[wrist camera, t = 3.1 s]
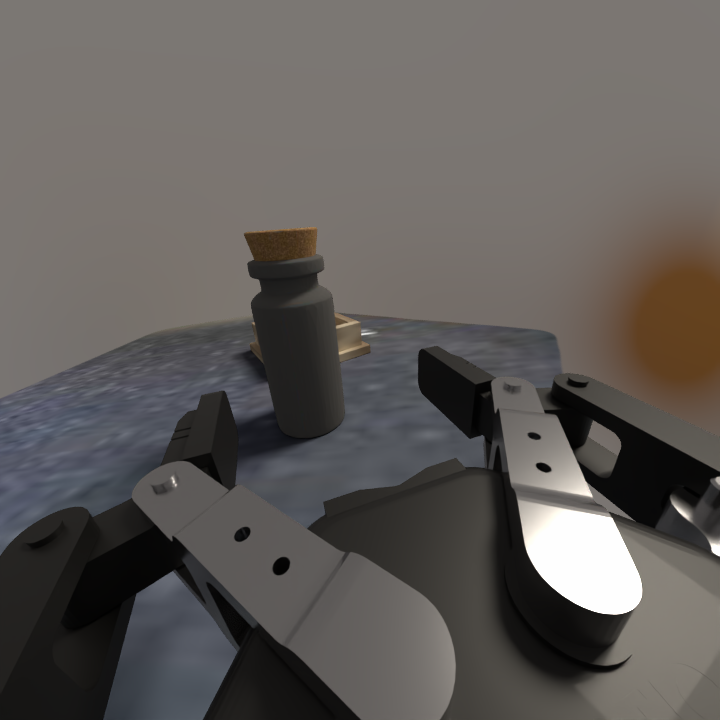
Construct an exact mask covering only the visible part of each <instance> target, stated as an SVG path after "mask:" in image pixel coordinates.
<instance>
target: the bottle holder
mask: <svg viewBox="0 0 720 720" xmlns="http://www.w3.org/2000/svg"><path fill="white" fill-rule="evenodd" d="M334 313H335V312H334ZM335 322H336V331H337V340H338V350H339V359H340V362H343V361H346V360H349V359H352V358H355V357H358V356H361V355H364V354H367V353H370V345H369V344H367V343H365V342H363V341H362V340H361V326H360V322H358V321H356V320H353V319H350V318H348V317H345V316H343V315H340V314H338V313H335ZM252 327H253V331H254V335H255V340H256V342H254V343H250V348H251V351H252V352H253V353H254V354H255V355H256V356H257V357H258V358H259V359H260V360H261V362H262V363H263V358H262V354H261V350H260V345H259V341H258V337H257V332H256V327H255V323H254V322H253V323H252ZM263 364H264V363H263Z"/></svg>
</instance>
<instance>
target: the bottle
mask: <svg viewBox="0 0 720 720" xmlns="http://www.w3.org/2000/svg"><path fill="white" fill-rule="evenodd" d="M244 236H245V238H246V241H247V243H248V245H249V247H250V250H251V253H252V255H253V257H254V260H252V261H250V262H248V264H247V265H248V271H249V275H250V277H252V278H255V279H259V281H260V285H261V292H260V293H258V294H257V295H256V296H255V297H254V298H253V300H252V302H251V308H252V313H253V318H254V323H255V327H256V332H257V337H258V341H259V345H260V350H261V354H262V358H263V363H264V367H265V371H266V376H267V380H268V384H269V389H270V393H271V397H272V402H273V406H274V410H275V414H276V418H277V422H278V425H279V428H280V429H281V430H282V432H283V433H285V434H287V435H289V436H292V437H295V438H312V437H317V436H321V435H324V434H326V433H328V432H330V431H332V430H333V429H335V428H336V427H337V426H338V425H339V424H340V423H341V422H342V420H343V419H344V414H345V409H344V397H343V387H342V378H341V368H340V359H339V350H338V340H337V331H336V322H335V313H334V305H333V298H332V294H331V292H330V291H329V290H327V289H326V288H324V287H322V286H320V285H319V284H318V279H317V273H319V272H321V271H322V270H324V261H323V257H322V256H321V255H317V254H315V253H316V239H317V228H315V227H309V228H295V229H281V230H269V231H256V232H246V233H244Z"/></svg>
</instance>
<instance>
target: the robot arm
mask: <svg viewBox="0 0 720 720" xmlns="http://www.w3.org/2000/svg"><path fill="white" fill-rule="evenodd" d="M418 384H419V388H420V391H421V393H422V394H423V395H424V396H425V397H426V398H427V399H428V400H429V401H430V402H431V403H432V404H433V405H435V406H436V407H437V408H438V409H439V410H440V411H441V412H442V413H443V414H444V415H445V416H446V417H447V418H448V419H449V420H450V421H451V422H453V423H454V424H455V425H456V426H457V427H458V428H459V429H460V430H461V431H462V432H463V433H464V434H465V435H466V436H467V437H468V438H469V439H471V438H474V437H477V436H481V435H483V436H484V443H483V447H484V463H485V468H479V467H464V466H463V465H462V464H461V463H460V462H459V461H458V459H457V458H455V459H452V460H449V461H446V462H443V463H439V464H436V465H433V466H430V467H427V468H425V469H424V470H422V471H421V472H419V473H418V474H416V475H415V476H413V477H411V478H410V479H408V480H407V481H405V482H404V483H402V484H400V485H398V486H393V487H384V488H374V489H365V490H358V491H355V492H352V493H349V494H346V495H343V496H340V497H337V498H334V499H331V500H328V501H325V502H323V503H324V508H325V515H324V516H322V517H321V518H319V519H318V520H317V521H315V522H314V523H313V524H312V525H310V526H309V527H308V528H307V529H306V528H305V527H303V526H302V525H300V524H299V523H297V522H296V521H294V520H293V519H291V518H290V517H288V516H287V515H285V514H284V513H282V512H281V511H280V510H278V509H277V508H275V507H274V506H272V505H271V504H269V503H268V502H266V501H265V500H263V499H262V498H260V497H259V496H257V495H256V494H254V493H253V492H251V491H250V490H248V489H247V488H245V487H244V486H242V485H235V481H236V467H237V453H238V432H237V427H236V424H235V420H234V417H233V414H232V411H231V407H230V404H229V401H228V398H227V395H226V393H225V391H219V392H214V393H209V394H205V395H202V396H201V399H200V402H199V405H198V408H197V410H193V411H189V412H187V413H186V414H185V415H184V416H183V417H182V418H181V419H180V420H179V421H178V423H177V426H176V428H175V433H173V436H172V438H171V441H170V443H169V446H168V448H167V451H166V453H165V456H164V458H163V461H162V463H161V466H160V467H158V468H156V469H155V470H153V471H151V472H150V473H148V474H147V475H146V476H144V477H143V478H142V479H141V480H140V481H139V482H138V483H137V485H136V486H135V488H134V489H133V492H132V498H131V499H129V500H128V501H126V502H124V503H122V504H120V505H117V506H115V507H113V508H111V509H109V510H107V511H105V512H103V513H101V514H99V515H96V516H94V517H92V516H91V514H90V513H89V511H88V510H87V509H85V508H83V507H71V508H67V509H63V510H60V511H57V512H55V513H53V514H50V515H48V516H46V517H44V518H42V519H41V520H39V521H37V522H36V523H34V524H33V525H31V526H30V527H28V528H27V529H25V530H24V531H23V532H22V533H20V534H19V535H18V536H17V537H16V538H15V539H14V540H13V541H12V542H11V543H10V544H9V545H8V546H7V548H6V549H5V550H4V552H3V553H2V554H1V556H0V720H103V717H104V714H105V710H106V706H107V702H108V699H109V695H110V691H111V687H112V684H113V680H114V676H115V672H116V669H117V665H118V661H119V657H120V653H121V650H122V646H123V642H124V638H125V635H126V631H127V627H128V623H129V620H130V616H131V612H132V608H133V605H134V601H135V597H136V594H137V593H138V592H140V591H141V590H143V589H145V588H146V587H148V586H149V585H151V584H153V583H154V582H156V581H157V580H159V579H161V578H162V577H164V576H165V575H167V574H169V573H170V572H172V571H173V572H174V573H175V574H176V575H177V576H178V578H179V579H180V580H181V581H182V582H183V583H184V585H185V586H186V587H187V588H188V589H189V590H190V592H191V593H192V594H193V595H194V596H195V597H196V599H197V600H198V601H199V602H200V603H201V604H202V606H203V607H204V608H205V609H206V610H207V612H208V613H209V614H210V615H211V616H212V618H213V619H214V621H215V622H216V623H217V625H218V626H219V628H220V630H221V631H222V632H223V634H224V635H225V637H226V638H227V639H228V641H229V642H230V643H231V644H232V646H233V647H234V648H235V649H236V651H237V654H236V656H235V658H234V660H233V662H232V664H231V666H230V668H229V670H228V672H227V674H226V676H225V678H224V680H223V682H222V684H221V686H220V688H219V690H218V691H217V693H216V695H215V697H214V699H213V701H212V703H211V705H210V707H209V709H208V711H207V713H206V715H205V717H204V719H203V720H720V437H719V436H717V435H715V434H712V433H710V432H708V431H706V430H704V429H702V428H699V427H697V426H695V425H693V424H691V423H688V422H686V421H684V420H682V419H680V418H678V417H675V416H673V415H671V414H669V413H667V412H664V411H662V410H660V409H658V408H656V407H654V406H651V405H649V404H647V403H645V402H643V401H640V400H638V399H636V398H634V397H632V396H630V395H627V394H625V393H623V392H621V391H619V390H617V389H614V388H612V387H610V386H608V385H606V384H603V383H601V382H599V381H597V380H595V379H592V378H590V377H587V376H583V375H579V374H570V373H568V374H567V373H566V374H559V375H557V376H555V377H554V381H553V385H552V388H535V387H534V386H533V385H532V384H531V383H530V382H528V381H526V380H523V379H520V378H515V377H499V378H495V377H494V376H492V375H490V374H488V373H487V372H485V371H483V370H482V369H480V368H478V367H476V366H475V365H473V364H472V363H469V362H468V361H466V360H465V359H463V358H461V357H458V356H455V355H452V354H450V353H448V352H447V351H445V350H443V349H442V348H440V347H438V346H434V347H429V348H425V349H421V350H420V351H419V355H418ZM593 420H594V421H596V422H597V423H599V424H601V425H603V426H604V427H606V428H607V429H609V430H611V431H612V432H614V433H615V434H616V435H617V436H618V437H619V439H620V441H621V450H620V453H619V455H618V456H617V455H615V454H614V453H612V452H611V451H609V450H607V449H606V448H605V447H603V446H601V445H600V444H598V443H597V442H595V441H594V440H592V439H591V438H589V437H588V434H589V431H590V428H591V425H592V422H593ZM586 482H587V483H588V484H590V485H591V486H592V487H593V488H595V489H596V490H597V491H598V492H600V493H601V494H602V495H603V496H605V497H606V498H607V499H608V500H610V501H611V502H612V503H613V504H615V505H616V506H617V507H618V508H620V509H621V510H622V511H623V512H625V513H626V514H627V515H628V516H630V517H631V518H632V519H633V520H635V521H636V522H635V521H633V520H630V519H627V518H625V517H622V516H619V515H616V514H614V513H611V512H608V511H607V509H606V508H604V507H603V506H602V505H599V504H597V503H596V502H595V501H594V499H593V497H592V495H591V492H590V490H589V488H588V485H587V483H586Z"/></svg>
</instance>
